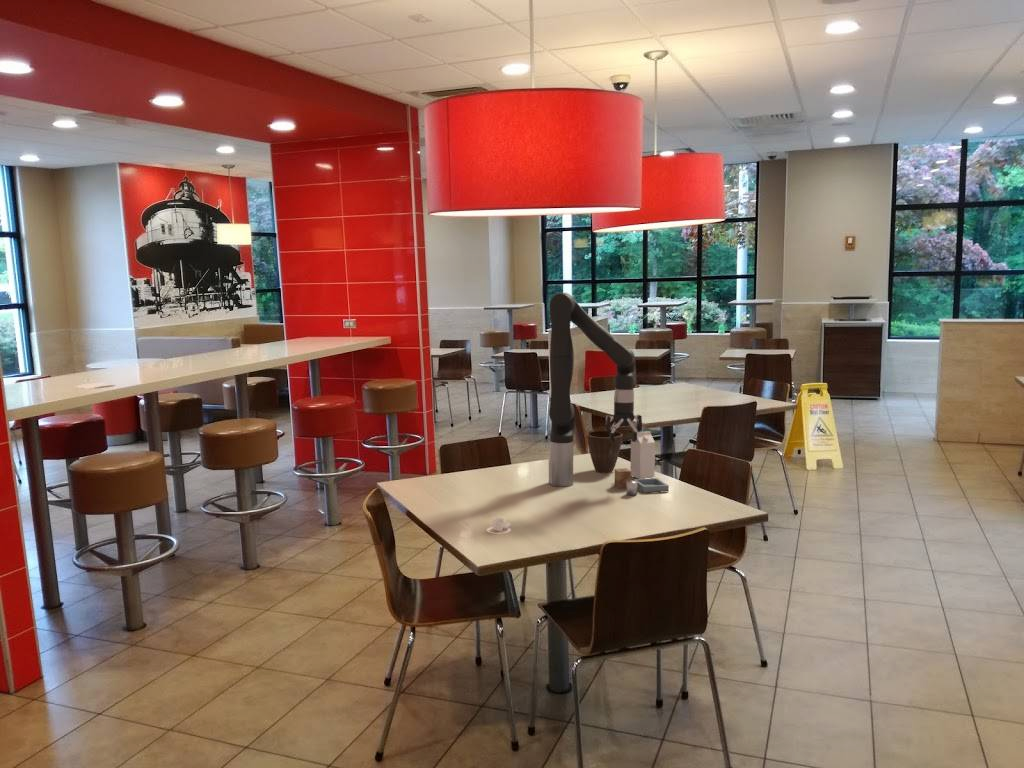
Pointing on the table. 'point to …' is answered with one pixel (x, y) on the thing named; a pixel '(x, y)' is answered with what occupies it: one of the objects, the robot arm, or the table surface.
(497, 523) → the teacup and saucer
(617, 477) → the walnut block
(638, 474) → the milk carton
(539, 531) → the table surface
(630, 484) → the metal cylinder
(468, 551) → the table surface
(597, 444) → the plant pot
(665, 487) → the slate tray
